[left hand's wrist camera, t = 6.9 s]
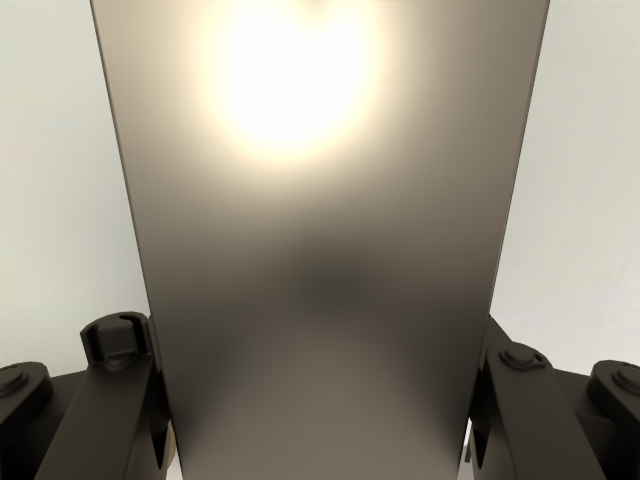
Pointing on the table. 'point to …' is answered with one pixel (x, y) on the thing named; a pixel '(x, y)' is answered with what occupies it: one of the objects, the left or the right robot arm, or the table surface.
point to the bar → (319, 219)
